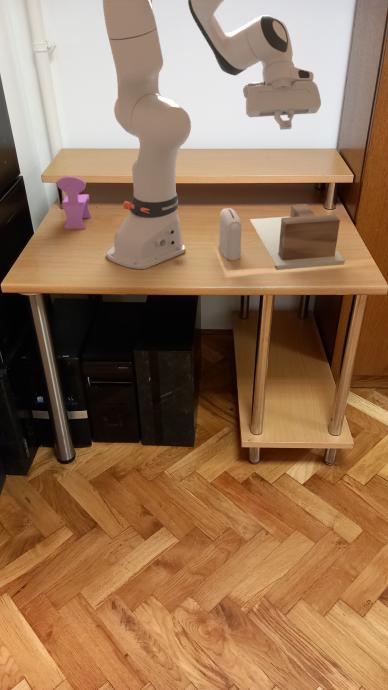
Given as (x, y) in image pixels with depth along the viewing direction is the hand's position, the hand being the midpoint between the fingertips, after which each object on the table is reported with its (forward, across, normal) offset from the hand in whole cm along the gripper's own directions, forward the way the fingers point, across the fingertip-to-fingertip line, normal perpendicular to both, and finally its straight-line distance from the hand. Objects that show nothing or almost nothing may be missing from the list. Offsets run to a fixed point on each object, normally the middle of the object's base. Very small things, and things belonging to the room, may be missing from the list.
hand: (286, 128), depth 156 cm
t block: (+33, +1, +3) cm, 33 cm away
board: (+29, 0, +9) cm, 30 cm away
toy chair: (+13, -60, +24) cm, 66 cm away
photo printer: (+33, -18, +5) cm, 38 cm away
